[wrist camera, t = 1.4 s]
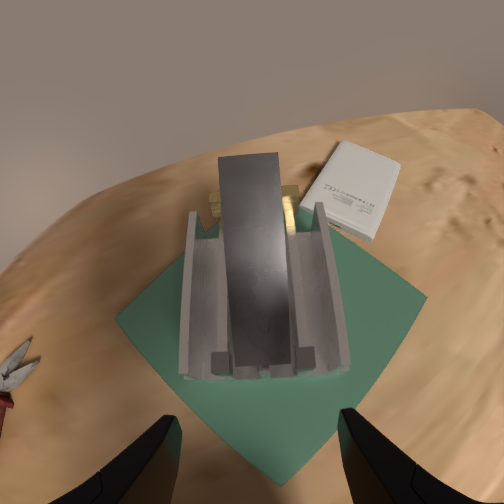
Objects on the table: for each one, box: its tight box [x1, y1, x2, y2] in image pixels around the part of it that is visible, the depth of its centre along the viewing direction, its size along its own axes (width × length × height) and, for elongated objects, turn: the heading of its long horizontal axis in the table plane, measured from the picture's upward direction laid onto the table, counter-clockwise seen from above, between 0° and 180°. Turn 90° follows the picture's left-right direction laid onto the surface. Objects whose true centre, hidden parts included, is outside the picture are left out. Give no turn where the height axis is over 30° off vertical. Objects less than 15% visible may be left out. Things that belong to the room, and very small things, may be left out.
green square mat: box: [114, 207, 427, 486], centre depth 23 cm, size 20×20×1 cm
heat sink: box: [178, 185, 351, 382], centre depth 20 cm, size 12×12×8 cm
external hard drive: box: [299, 140, 401, 244], centre depth 30 cm, size 2×8×12 cm
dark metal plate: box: [218, 152, 291, 367], centre depth 15 cm, size 11×3×1 cm
